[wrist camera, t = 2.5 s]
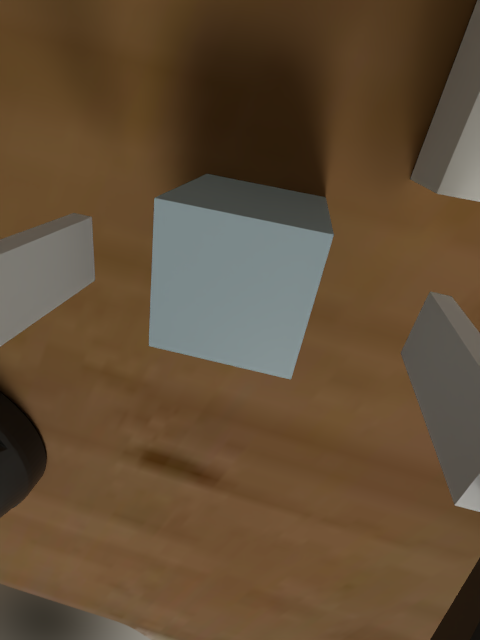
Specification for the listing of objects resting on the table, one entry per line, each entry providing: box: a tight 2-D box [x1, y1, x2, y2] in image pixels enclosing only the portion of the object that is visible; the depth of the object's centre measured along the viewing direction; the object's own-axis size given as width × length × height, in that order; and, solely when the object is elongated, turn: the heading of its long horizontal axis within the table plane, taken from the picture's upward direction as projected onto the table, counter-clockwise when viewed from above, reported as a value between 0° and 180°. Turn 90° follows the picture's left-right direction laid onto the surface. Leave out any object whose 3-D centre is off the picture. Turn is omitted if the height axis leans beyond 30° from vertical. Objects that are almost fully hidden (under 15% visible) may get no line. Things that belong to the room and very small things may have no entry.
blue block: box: [149, 174, 334, 379], centre depth 16 cm, size 6×6×7 cm
